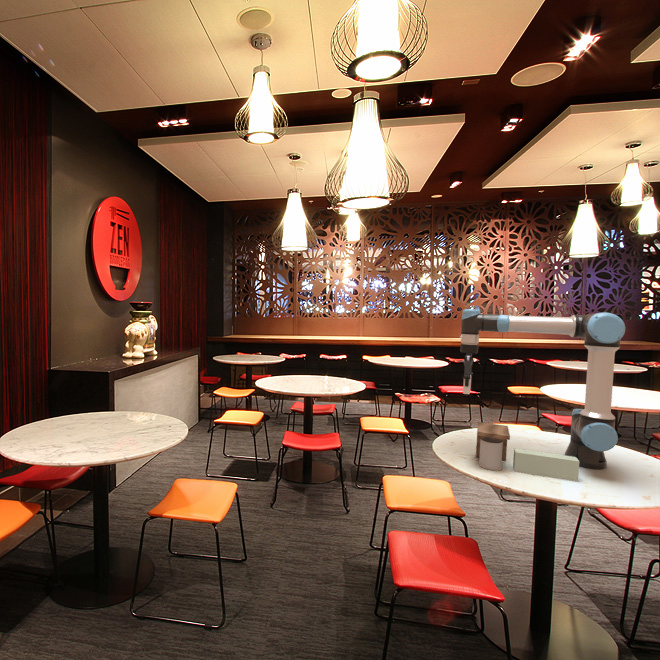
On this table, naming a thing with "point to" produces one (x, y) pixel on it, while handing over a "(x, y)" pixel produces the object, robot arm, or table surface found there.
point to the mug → (490, 453)
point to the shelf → (493, 436)
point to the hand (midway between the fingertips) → (466, 391)
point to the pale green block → (546, 464)
